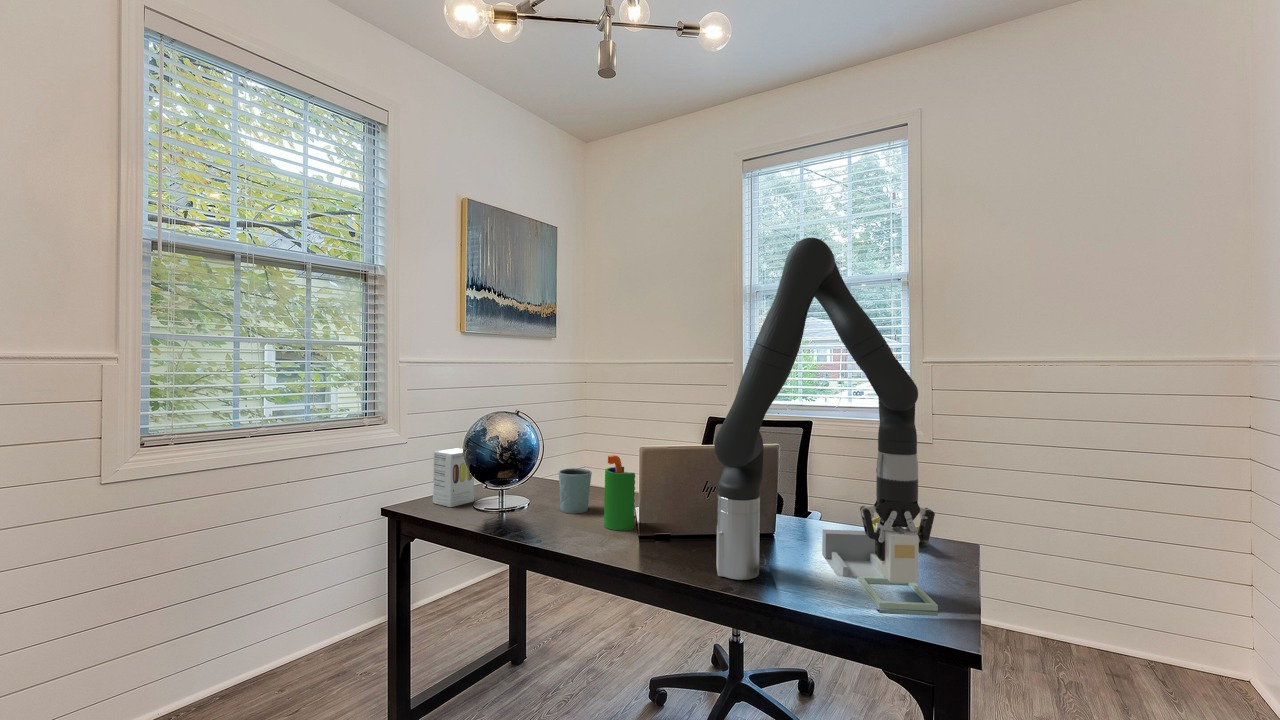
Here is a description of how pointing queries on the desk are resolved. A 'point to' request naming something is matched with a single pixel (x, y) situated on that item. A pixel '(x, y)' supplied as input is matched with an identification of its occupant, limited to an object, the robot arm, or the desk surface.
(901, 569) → the labeled white box
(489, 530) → the desk surface
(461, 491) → the supplement box
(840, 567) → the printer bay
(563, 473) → the pale teal cup
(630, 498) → the motor
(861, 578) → the tray
